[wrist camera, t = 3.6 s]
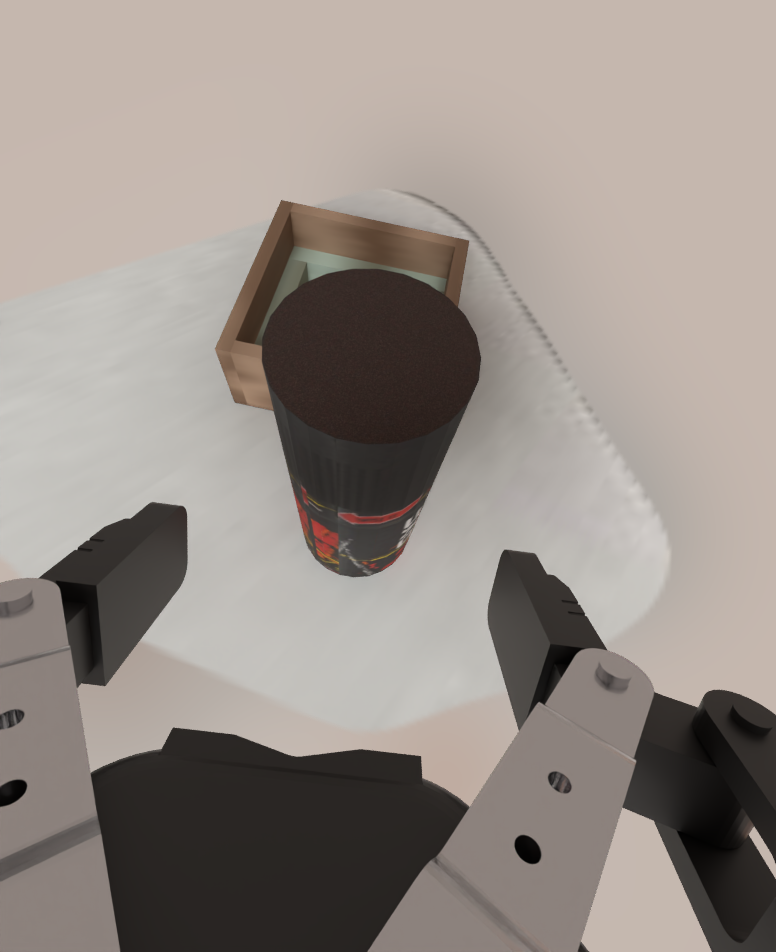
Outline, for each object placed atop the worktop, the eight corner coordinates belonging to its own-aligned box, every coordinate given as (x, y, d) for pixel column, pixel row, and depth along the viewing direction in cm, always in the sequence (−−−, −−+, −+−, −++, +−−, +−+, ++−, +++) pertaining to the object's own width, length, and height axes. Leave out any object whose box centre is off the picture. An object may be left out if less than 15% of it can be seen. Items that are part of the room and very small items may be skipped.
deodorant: (325, 463, 28) (309, 245, 14) (421, 494, 27) (500, 302, 14) (286, 556, 25) (222, 402, 12) (391, 592, 25) (452, 475, 11)
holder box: (234, 402, 29) (215, 348, 24) (289, 265, 34) (281, 200, 29) (426, 443, 29) (441, 397, 24) (452, 300, 34) (469, 240, 29)
